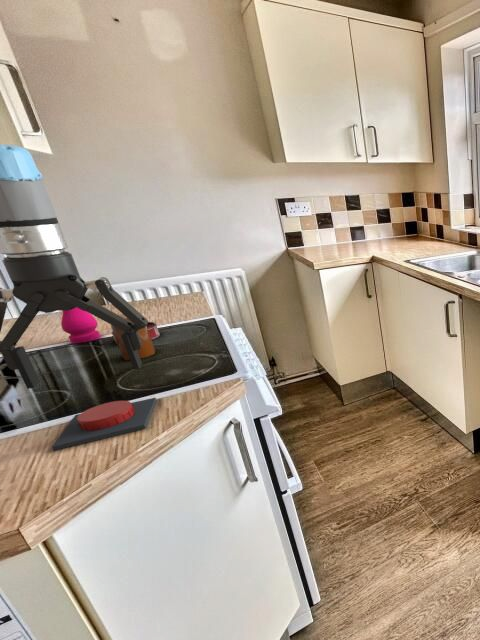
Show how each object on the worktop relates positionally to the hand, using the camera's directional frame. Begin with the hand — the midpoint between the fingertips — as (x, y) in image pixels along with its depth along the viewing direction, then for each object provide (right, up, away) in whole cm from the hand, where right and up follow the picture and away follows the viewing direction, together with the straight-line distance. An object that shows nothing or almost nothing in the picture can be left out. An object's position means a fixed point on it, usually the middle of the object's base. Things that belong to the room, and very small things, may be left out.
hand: (88, 375), depth 73 cm
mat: (+1, -9, +3) cm, 10 cm away
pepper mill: (-48, +6, +47) cm, 68 cm away
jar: (-22, +2, +35) cm, 41 cm away
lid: (+1, -7, +3) cm, 7 cm away
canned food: (-33, +7, +47) cm, 58 cm away
